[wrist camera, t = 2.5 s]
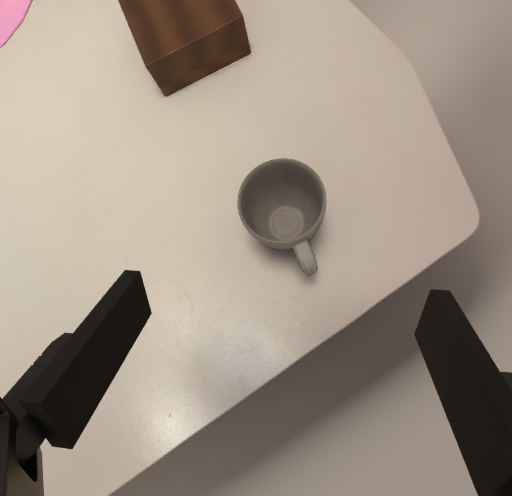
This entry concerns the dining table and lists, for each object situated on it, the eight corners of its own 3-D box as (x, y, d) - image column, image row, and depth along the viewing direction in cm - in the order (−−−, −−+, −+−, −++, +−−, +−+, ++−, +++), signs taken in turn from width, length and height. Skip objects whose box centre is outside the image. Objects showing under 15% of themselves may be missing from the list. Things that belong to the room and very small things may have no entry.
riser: (216, -15, 48) (203, -60, 42) (251, 53, 45) (243, 15, 39) (136, 27, 49) (113, -11, 43) (165, 96, 46) (145, 66, 40)
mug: (242, 208, 41) (223, 180, 31) (303, 179, 40) (303, 142, 31) (278, 292, 38) (270, 289, 29) (344, 263, 38) (358, 250, 28)
